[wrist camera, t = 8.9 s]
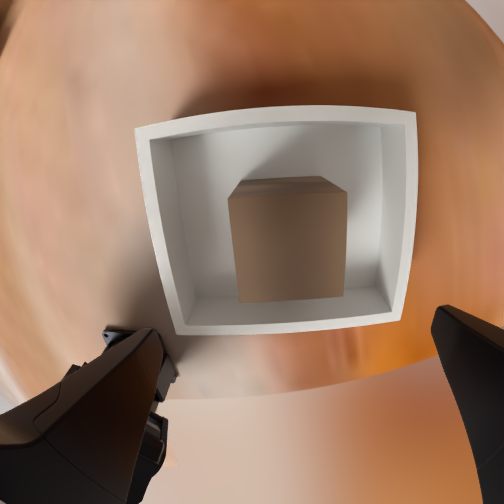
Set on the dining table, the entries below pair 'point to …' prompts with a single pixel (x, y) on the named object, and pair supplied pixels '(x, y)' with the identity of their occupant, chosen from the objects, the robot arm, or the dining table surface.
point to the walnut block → (288, 238)
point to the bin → (278, 166)
